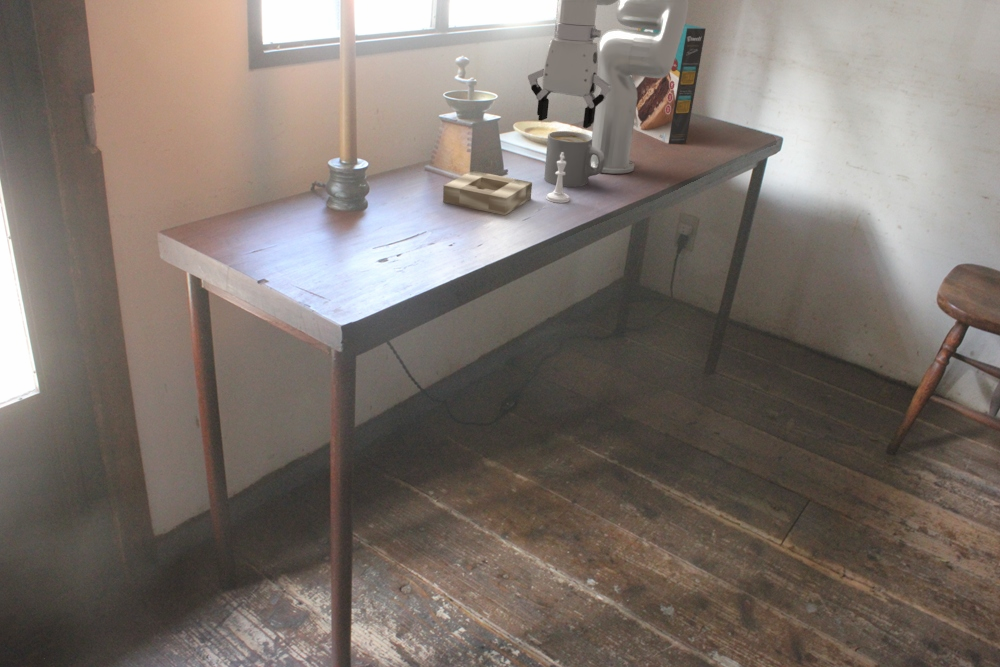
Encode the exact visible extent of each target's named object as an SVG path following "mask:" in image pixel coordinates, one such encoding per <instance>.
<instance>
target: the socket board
mask: <svg viewBox="0 0 1000 667" xmlns="http://www.w3.org/2000/svg"><path fill="white" fill-rule="evenodd" d="M532 190H533V182H532V181H528V180H524V179H523V180H522V179H516V178H512V177H507V176H502V175H497V174H492V173H486V172H482V171H481V172H480V171H477V170H476V171H475V170H471V171H469V172H467V173H465V174H463V175H461V176H459V177H457V178H455V179H453V180H451V181H449V182H447V183H445V184H444V185H443V195H442V198H443V200H442V202H443V203H446V204H451V205H455V206H461V207H464V208H470V209H473V210H474V209H475V210H479V211H483V212H488V213H493V214H499V215H501V216H502V215H503V216H506V215H507V214H509V213H511V212H512V211H514V210H515V209H517V208H519V207H520V206H522V205H523V204H524V203H526V202H528V201H529V200H530V199H531V198H532Z"/></svg>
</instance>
